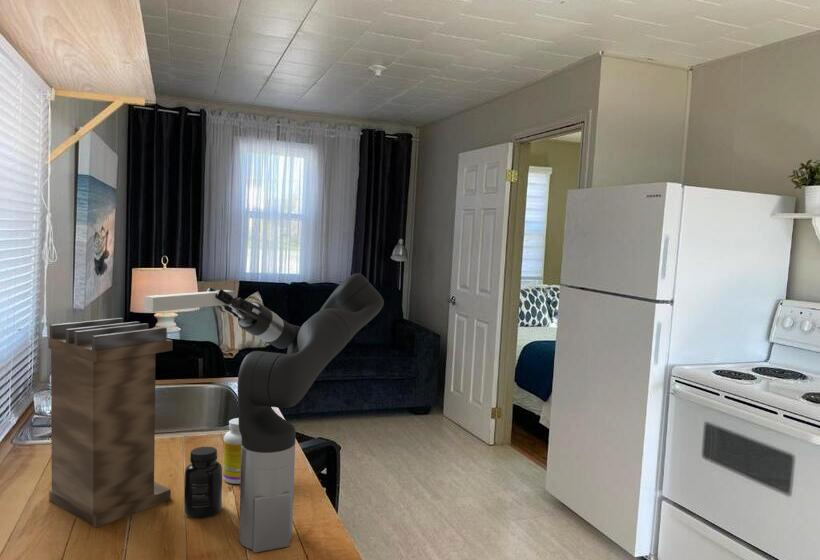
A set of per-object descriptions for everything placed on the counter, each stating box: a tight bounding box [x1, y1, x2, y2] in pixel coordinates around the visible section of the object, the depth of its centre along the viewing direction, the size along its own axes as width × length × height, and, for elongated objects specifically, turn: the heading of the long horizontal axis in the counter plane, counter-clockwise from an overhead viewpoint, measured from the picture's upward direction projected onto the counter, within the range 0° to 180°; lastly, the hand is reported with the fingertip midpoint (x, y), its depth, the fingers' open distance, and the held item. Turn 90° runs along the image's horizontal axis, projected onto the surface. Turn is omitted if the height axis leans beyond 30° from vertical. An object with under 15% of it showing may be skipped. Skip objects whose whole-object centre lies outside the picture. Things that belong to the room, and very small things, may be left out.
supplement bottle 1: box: [183, 446, 223, 520], centre depth 117 cm, size 7×7×12 cm
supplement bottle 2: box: [222, 417, 242, 485], centre depth 132 cm, size 7×7×13 cm
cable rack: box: [47, 317, 174, 528], centre depth 119 cm, size 15×17×34 cm
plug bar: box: [144, 289, 235, 313], centre depth 137 cm, size 21×3×3 cm, turn 145°
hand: (212, 292), depth 141 cm, fingers closed on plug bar, 3 cm apart
